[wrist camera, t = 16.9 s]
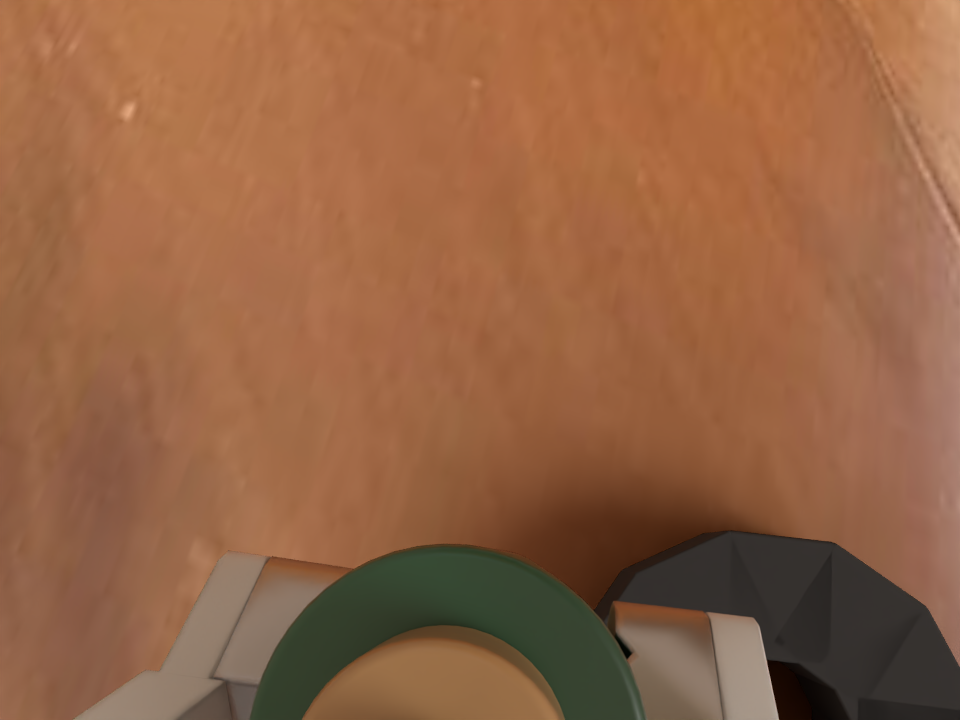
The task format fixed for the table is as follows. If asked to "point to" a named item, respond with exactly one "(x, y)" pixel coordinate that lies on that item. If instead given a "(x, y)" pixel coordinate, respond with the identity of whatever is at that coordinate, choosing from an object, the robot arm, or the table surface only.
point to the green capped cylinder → (448, 646)
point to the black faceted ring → (811, 620)
